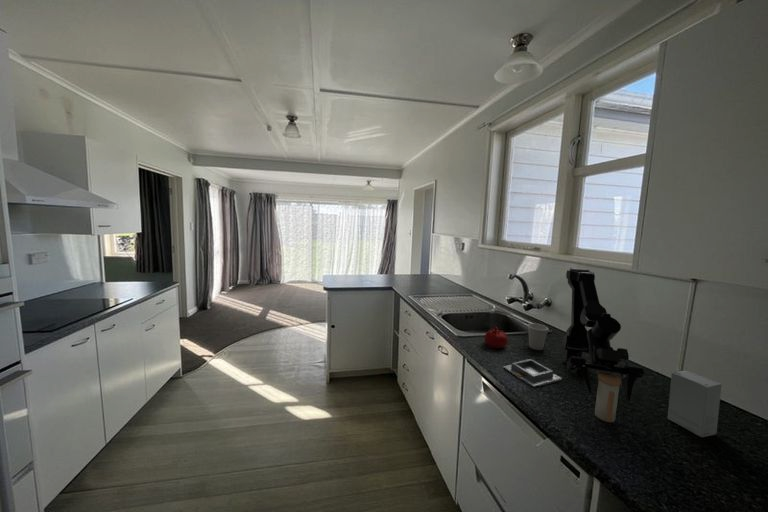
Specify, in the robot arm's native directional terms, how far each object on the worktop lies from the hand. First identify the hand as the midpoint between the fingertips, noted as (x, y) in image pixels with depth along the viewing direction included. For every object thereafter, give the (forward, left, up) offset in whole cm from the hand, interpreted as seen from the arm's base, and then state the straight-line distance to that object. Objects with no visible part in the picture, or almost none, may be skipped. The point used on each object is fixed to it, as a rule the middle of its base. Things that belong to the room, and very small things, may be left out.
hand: (608, 397), depth 83 cm
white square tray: (-9, -25, -7) cm, 27 cm away
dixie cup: (-35, -33, -7) cm, 48 cm away
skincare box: (-15, +16, -7) cm, 23 cm away
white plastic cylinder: (-1, -1, -7) cm, 7 cm away
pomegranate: (-22, -46, -7) cm, 51 cm away
